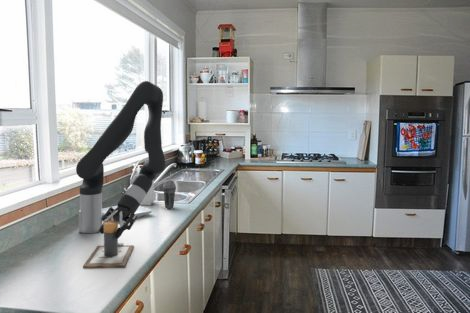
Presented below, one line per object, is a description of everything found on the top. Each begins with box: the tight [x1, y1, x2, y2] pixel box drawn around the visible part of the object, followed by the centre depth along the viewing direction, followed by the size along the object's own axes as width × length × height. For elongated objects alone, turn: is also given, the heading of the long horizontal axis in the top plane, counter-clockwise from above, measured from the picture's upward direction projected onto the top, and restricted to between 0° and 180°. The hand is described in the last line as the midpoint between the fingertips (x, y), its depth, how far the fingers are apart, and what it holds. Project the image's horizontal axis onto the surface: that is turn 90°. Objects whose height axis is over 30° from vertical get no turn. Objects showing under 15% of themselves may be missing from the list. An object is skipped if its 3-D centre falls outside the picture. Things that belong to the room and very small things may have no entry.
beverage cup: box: [162, 172, 177, 210], centre depth 214 cm, size 7×7×20 cm
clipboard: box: [82, 242, 135, 269], centre depth 142 cm, size 14×20×2 cm
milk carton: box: [140, 179, 155, 206], centre depth 223 cm, size 7×7×19 cm
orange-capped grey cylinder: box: [103, 220, 119, 257], centre depth 142 cm, size 5×5×12 cm
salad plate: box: [102, 205, 154, 219], centre depth 198 cm, size 21×21×3 cm
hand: (107, 235), depth 141 cm, fingers open, 8 cm apart
